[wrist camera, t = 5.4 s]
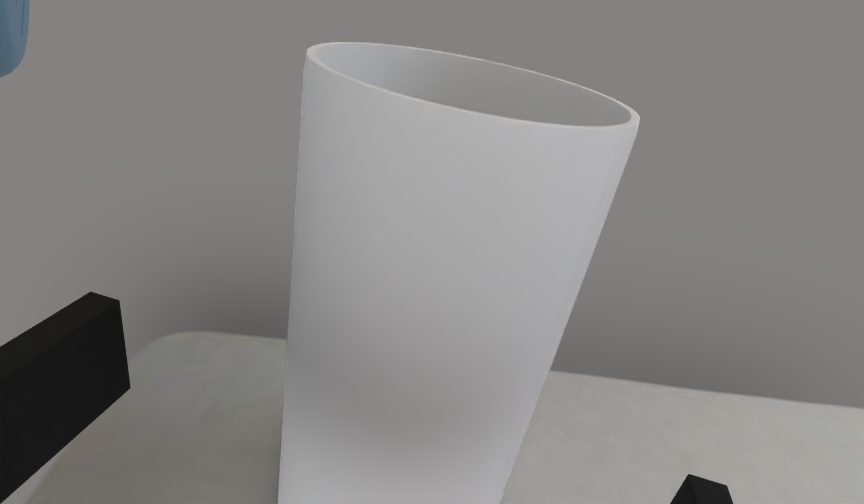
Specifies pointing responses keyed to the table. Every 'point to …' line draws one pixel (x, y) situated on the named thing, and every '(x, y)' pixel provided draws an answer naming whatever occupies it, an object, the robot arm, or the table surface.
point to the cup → (433, 266)
